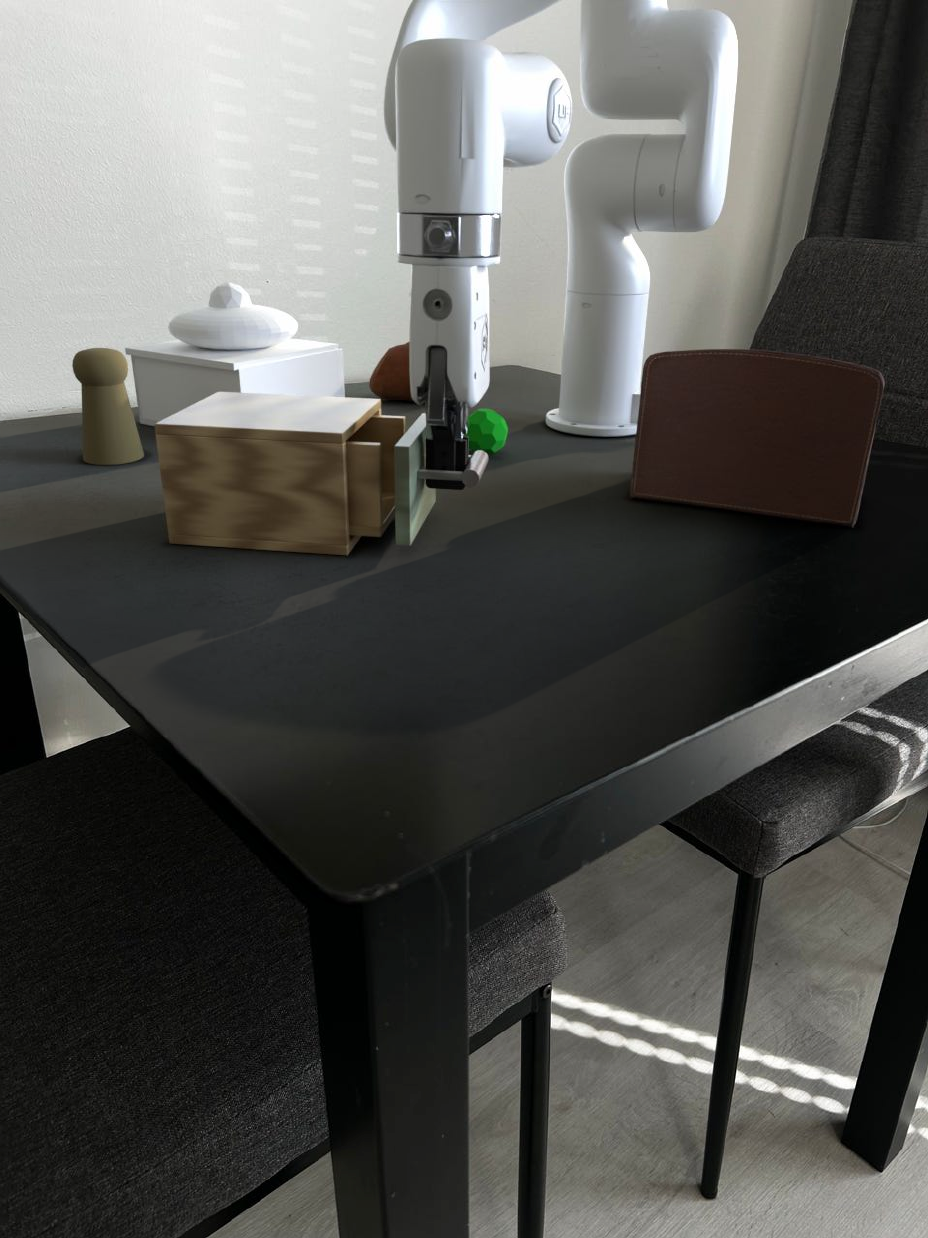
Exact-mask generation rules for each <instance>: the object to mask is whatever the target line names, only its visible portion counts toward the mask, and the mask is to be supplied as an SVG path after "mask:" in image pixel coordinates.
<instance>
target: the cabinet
mask: <svg viewBox="0 0 928 1238" xmlns="http://www.w3.org/2000/svg"><path fill="white" fill-rule="evenodd" d="M381 399H382V398H370V397H369V398H368V397H367V398H366V397H346V396H345V397H325V396H303V395H281V394H259V393H238V392H217V393H215V394H213V395H211V396H209V397H207V398H205V399H203V400H201V401H199V402H197V403H195V404H193V405H191V406H189V407H187V408H185V409H183V410H181V411H179V412H177V413H175V414H173V415H171V416H169V417H167V418H165V419H163V420H161V421H159V422H157V423H155V424H154V426H153V427H154V432H155V440H156V449H157V457H158V464H159V465H158V466H159V472H160V480H161V488H162V494H163V503H164V510H165V511H164V512H165V519H166V526H167V533H168V542H169V544H171V545H186V546H187V545H188V546H201V547H215V548H217V547H218V548H232V549H245V550H247V549H248V550H260V551H275V552H291V553H305V554H306V553H307V554H321V555H333V556H334V555H335V556H349V554H350V552H351V551H352V550H353V549H354V547H355V546H356V544H357V543H358V542H359V540H360V539H361V537H362V536H355V535H349V513H348V488H347V463H346V442H345V441H346V440H347V439H348V438H349V437H351V436H352V435H353V434H354V433H355V432H356V431H357V430H358V429H359V428H360V427H361V426H362V425H363V424H364V423H365V422H367V421H368V420H369V419H370V418H371V417H372V416H373V415H382V400H381Z"/></svg>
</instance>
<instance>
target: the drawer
mask: <svg viewBox="0 0 928 1238" xmlns="http://www.w3.org/2000/svg"><path fill="white" fill-rule="evenodd" d="M426 438H427V437H426V412H422V413H421V414H420V416H418V418H417V419H416V420H415V421H414V422H413V424H411V426H410V427H409V428H408V429H407V430H406V416H404V415H403V416H402V415H385V414H381V415H373V416H372V417H371V418H370V419H369V420H368V421H367V422H365V423H364V424H363V425H362V426H361V427H360V428H359V429H358V430H357V431H356V432H355V433H354V434H353V435H352V436H351V437H349V438H348V439H347V440H346V441H345V442H346V463H347V488H348V513H349V535H355V536H361V537H371V538H381V537H382V536H383V535H384V533H385V531H386V530H387V528H388V527H389V525H390V524H391V523H392V521H393V520H394V521H395V522H394V523H395V526H394V527H395V529H394V530H395V545H396V546H406V547H407V546H408V547H410V546H412V544H413V542H414V541H415V539H416V537H417V535H418V534H419V532H420V530H421V528H422V526H423V525H424V523H425V521H426V519H427V517H428V515H429V514H430V512H431V510H432V509H433V508H434V505H435V503H436V500H437V499H436V497H437V495H436V492H437V491H436V490H437V489H432V488H428V487H427V486H426V479H438V480H456V481H462V482H463V483H464V485H466V486H465V487H468V488H475V487H476V486H478V484H479V482H480V480H481V479H482V476H483V474H484V472H485V470H486V467H487V465H488V463H489V456H488V455H487V453H486V452H484V451H482V450H478V451H476V452H473V453H472V454H468V465H467V467H466V468H465V470H464V472H460V471H442V470H426ZM394 518H395V519H394Z"/></svg>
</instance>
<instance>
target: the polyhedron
mask: <svg viewBox="0 0 928 1238" xmlns="http://www.w3.org/2000/svg"><path fill="white" fill-rule="evenodd" d="M508 433H509V427H508V425H507V422H506V419H505V418H504V417H503V416H502V415H500V414H499V413H497V412H496V411H495V410H493V409H491V408H478V409H476V410H475V411H474V412H472V413H471V414H470V415H468V429H467V435H463V436H469V450H470V451H471V452H473V453H474V452H476V451H478V450H482V451H484V452H486V453H487V455H488V457H490V456H492V455H494V454H495V453H497V452H498V451H500V450H501V449H502V448H503V447H504V446H505V445H506V440H507V437H508Z"/></svg>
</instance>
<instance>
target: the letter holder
mask: <svg viewBox="0 0 928 1238" xmlns="http://www.w3.org/2000/svg"><path fill="white" fill-rule="evenodd" d="M640 386H641V393H640V404H639V413H638V422H637V431H636V434H635V440H634V441H635V442H634V451H633V460H632V469H631V471H632V472H631V480H630V487H629V496H630V498H631V499H634V500H642V501H643V500H644V501H653V502H660V503H661V502H662V503H670V504H678V505H686V506H694V507H701V508H708V509H716V510H717V509H718V510H725V511H729V512H736V513H737V512H738V513H743V514H752V515H759V516H764V517H765V516H766V517H774V518H783V519H790V520H795V521H803V522H811V523H817V524H818V523H819V524H825V525H826V524H828V525H834V526H842V527H847V528H854V525H856V522H857V520H858V517H859V510H860V507H861V501H862V495H863V492H864V491H863V490H864V487H865V482H866V476H867V471H868V467H869V461H870V458H871V457H870V456H871V450H872V445H873V442H874V436H875V432H876V431H875V430H876V428H877V427H876V426H877V422H878V418H879V417H878V416H879V413H880V409H881V405H882V399H883V394H884V389H885V379H884V376H883V374H882V373H881V371H879V370H877V369H876V368H873V367H869V366H865V365H861V364H857V363H852V362H847V361H842V360H838V359H832V358H827V357H821V356H814V355H807V354H799V353H793V352H792V353H791V352H782V351H776V350H775V351H774V350H763V349H746V348H745V349H744V348H707V349H706V348H704V349H703V348H702V349H686V350H670V351H660V352H656V353H653V354H650V355H649V356H648V357H646V359H645V361H644V363H643V365H642V373H641V381H640Z"/></svg>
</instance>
